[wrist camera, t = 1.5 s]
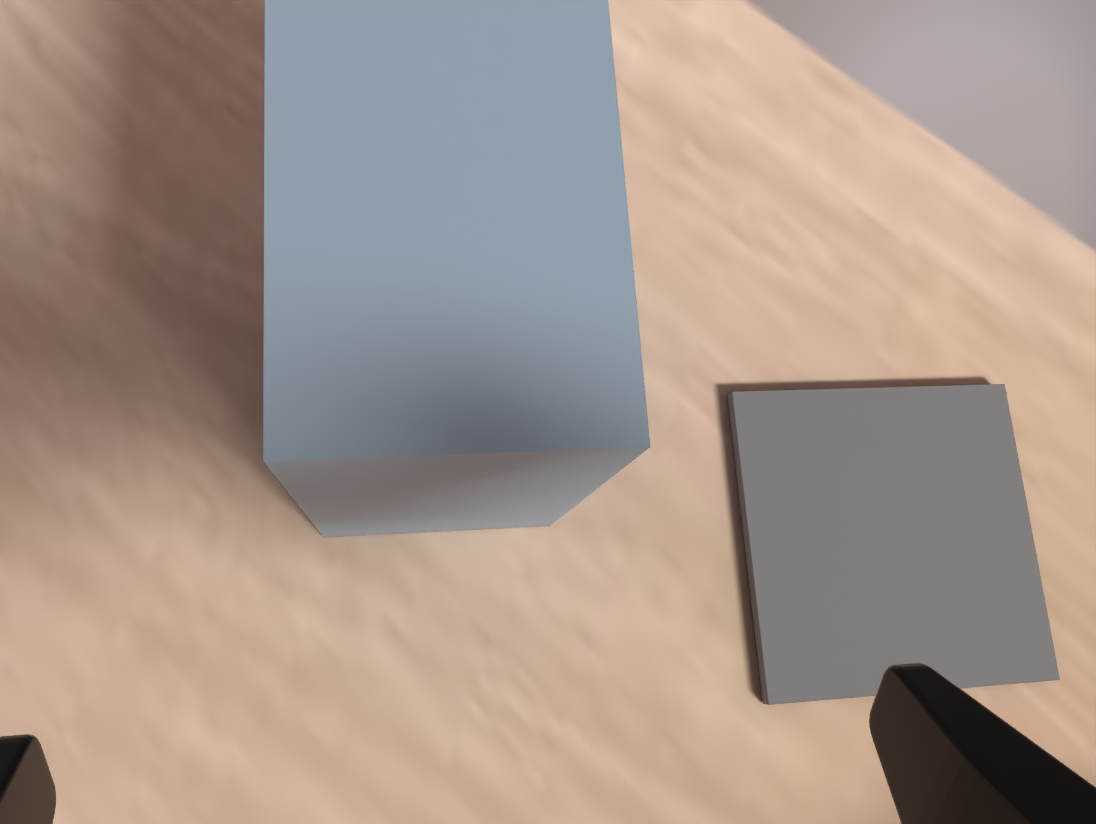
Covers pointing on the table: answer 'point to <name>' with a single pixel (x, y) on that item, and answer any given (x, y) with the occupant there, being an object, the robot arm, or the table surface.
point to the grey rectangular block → (445, 263)
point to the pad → (887, 539)
